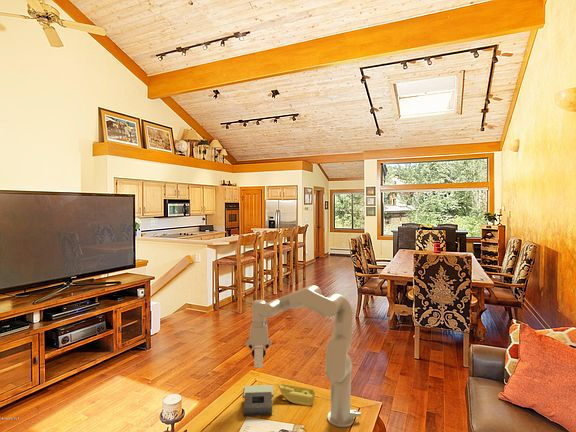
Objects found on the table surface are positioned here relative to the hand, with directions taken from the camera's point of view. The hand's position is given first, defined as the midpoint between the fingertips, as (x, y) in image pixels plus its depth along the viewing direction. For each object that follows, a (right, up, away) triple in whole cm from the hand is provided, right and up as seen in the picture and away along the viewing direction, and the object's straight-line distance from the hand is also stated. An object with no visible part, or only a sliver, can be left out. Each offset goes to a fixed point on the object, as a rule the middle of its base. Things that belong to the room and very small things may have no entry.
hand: (258, 356), depth 179 cm
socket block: (+1, -22, -10) cm, 24 cm away
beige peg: (0, -5, 0) cm, 5 cm away
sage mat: (0, -22, +5) cm, 22 cm away
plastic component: (+21, -22, -1) cm, 30 cm away
